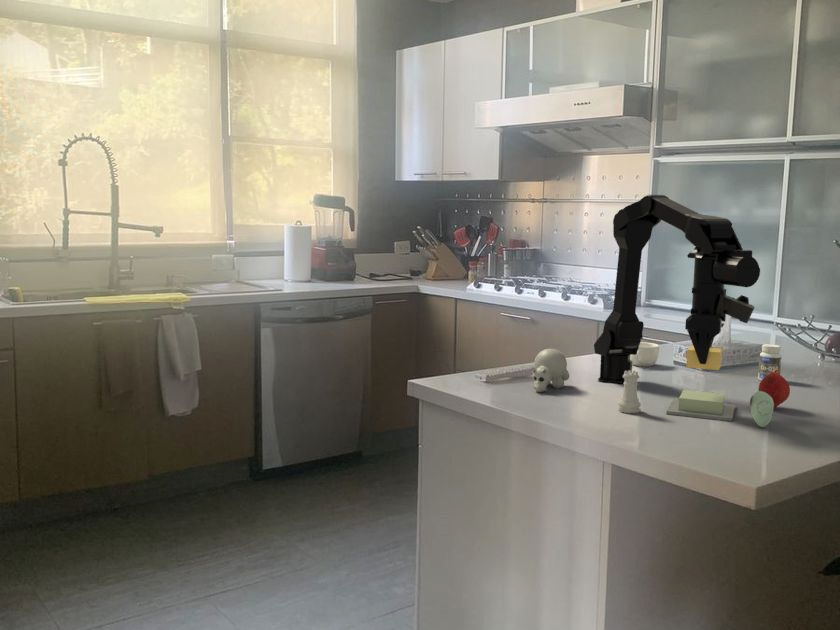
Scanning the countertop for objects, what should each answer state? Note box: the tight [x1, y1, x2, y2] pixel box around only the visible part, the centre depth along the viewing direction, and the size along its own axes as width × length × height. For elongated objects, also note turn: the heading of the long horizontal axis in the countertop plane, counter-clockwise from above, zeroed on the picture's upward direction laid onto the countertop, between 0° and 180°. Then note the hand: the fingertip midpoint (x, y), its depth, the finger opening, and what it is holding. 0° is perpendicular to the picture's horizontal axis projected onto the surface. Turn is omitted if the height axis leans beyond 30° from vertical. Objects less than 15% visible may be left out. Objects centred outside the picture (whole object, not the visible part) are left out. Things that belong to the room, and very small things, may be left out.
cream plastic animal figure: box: [531, 348, 570, 393], centre depth 178 cm, size 7×12×8 cm, turn 145°
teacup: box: [630, 341, 660, 368], centre depth 206 cm, size 10×8×5 cm
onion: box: [757, 369, 791, 409], centre depth 163 cm, size 6×6×8 cm
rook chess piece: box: [617, 370, 642, 415], centre depth 159 cm, size 4×4×8 cm
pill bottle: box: [757, 343, 782, 381], centre depth 190 cm, size 5×5×8 cm
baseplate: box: [666, 389, 736, 422], centre depth 160 cm, size 12×12×3 cm
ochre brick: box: [685, 344, 723, 371], centre depth 159 cm, size 6×6×4 cm
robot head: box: [749, 390, 775, 428], centre depth 149 cm, size 8×4×7 cm, turn 157°
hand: (704, 361), depth 159 cm, fingers closed on ochre brick, 6 cm apart
